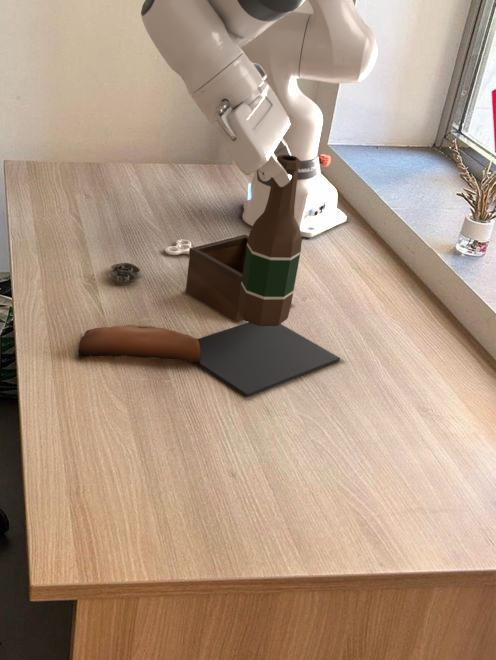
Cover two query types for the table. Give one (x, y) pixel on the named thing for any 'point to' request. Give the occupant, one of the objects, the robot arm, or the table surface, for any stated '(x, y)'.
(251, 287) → the beer bottle
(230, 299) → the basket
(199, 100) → the robot arm
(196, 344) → the sunglasses case
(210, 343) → the mat
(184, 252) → the fidget spinner
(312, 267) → the table surface
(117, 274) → the corroded twin loop
